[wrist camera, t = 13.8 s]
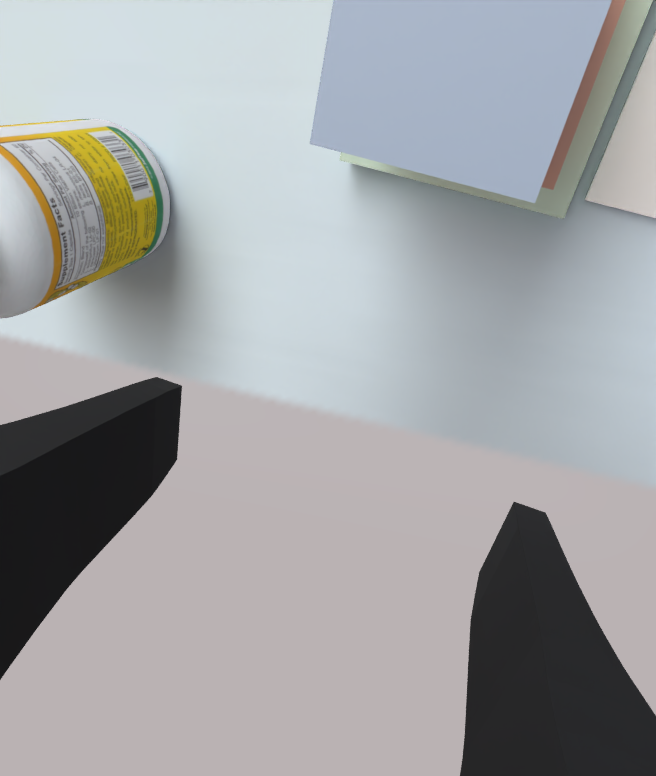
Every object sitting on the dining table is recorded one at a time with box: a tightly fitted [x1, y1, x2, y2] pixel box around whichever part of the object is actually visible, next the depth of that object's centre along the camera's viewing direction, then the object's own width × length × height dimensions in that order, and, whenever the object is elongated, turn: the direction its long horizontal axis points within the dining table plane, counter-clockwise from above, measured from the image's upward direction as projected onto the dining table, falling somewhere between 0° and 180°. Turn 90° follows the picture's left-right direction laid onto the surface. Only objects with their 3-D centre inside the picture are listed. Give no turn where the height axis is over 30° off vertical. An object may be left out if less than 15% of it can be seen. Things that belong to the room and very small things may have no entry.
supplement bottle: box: [0, 119, 170, 318], centre depth 18 cm, size 5×5×10 cm
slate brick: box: [310, 0, 612, 203], centre depth 10 cm, size 4×4×4 cm
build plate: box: [340, 0, 653, 219], centre depth 16 cm, size 7×7×1 cm
